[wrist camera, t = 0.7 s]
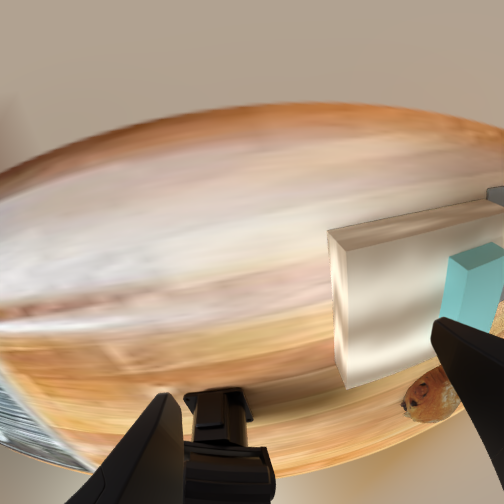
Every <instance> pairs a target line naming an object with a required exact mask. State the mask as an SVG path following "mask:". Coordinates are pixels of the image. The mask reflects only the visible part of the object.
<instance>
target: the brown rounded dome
mask: <svg viewBox="0 0 504 504" xmlns="http://www.w3.org/2000/svg"><path fill="white" fill-rule="evenodd" d="M460 402H461V400H460V398H459V397H458V395H457V393H456V391H455V390H454V388H453V386H452V385H451V383H450V381H449V379H448V378H447V376H446V374H445V372H444V370H443V367H442V365H440V366H439V367H436V368H434V369H433V370H431V371H429V372H427V373H426V374H424V375H423V376H422V377H420V378H419V379H418V380H417V381H416V382H415V383H414V384H413V385H412V386H411V387H410V388H409V389H408V391H407V393H406V395H405V396H404V400H403V403H401V406H402V407H404V410H405V411H406V412H405V413H404V414H403V416H406V417H409V418H411V419H413V421H417V422H421V423H436V422H439V421H442V420H444V419H446V418H448V417H449V416H450V415H451V414H452V413H453V412H454V411H455V410H456V408H457V407H458V405H459V404H460Z"/></svg>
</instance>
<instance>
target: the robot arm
mask: <svg viewBox="0 0 504 504" xmlns="http://www.w3.org/2000/svg"><path fill="white" fill-rule="evenodd" d="M430 341H431V345H432V347H433V349H434V351H435V353H436V355H437V357H438V359H439V361H440V363H441V365H442V367H443V370H444V372H445V374H446V376H447V378H448V379H449V381H450V383H451V385H452V386H453V388H454V390H455V391H456V393H457V395H458V397H459V398H460V400H461V402H462V404H463V405H464V407H465V409H466V411H467V412H468V414H469V416H470V418H471V420H472V422H473V424H474V426H475V428H476V430H477V432H478V434H479V436H480V438H481V439H482V442H483V444H484V445H485V448H486V450H487V452H488V454H489V457H490V459H492V460H491V461H492V464H493V466H494V468H495V471H496V473H497V475H498V478H499V480H500V483H501V485H502V488H503V490H504V339H502V338H500V337H497V336H495V335H492V334H489V333H487V332H484V331H481V330H479V329H476V328H473V327H471V326H468V325H466V324H463V323H460V322H458V321H455V320H452V319H450V318H447V317H441V318H438V319H436V320H435V321H434V322H433V326H432V331H431V336H430ZM183 400H184V402H185V403H186V405H187V406H188V408H189V410H190V411H191V413H192V414H193V426H192V438H191V442H190V441H183V429H182V412H181V408H180V406H179V405H178V403H177V402H176V400H175V399H174V398H173V396H172V395H171V394H170V393H168V392H167V393H159V394H157V395H156V396H155V398H154V399H153V400H152V401H151V403H150V404H149V405H148V406H147V408H146V409H145V410H144V411H143V413H142V414H141V415H140V417H139V418H138V419H137V420H136V422H135V423H134V424H133V425H132V427H131V428H130V429H129V430H128V432H127V433H126V434H125V435H124V437H123V438H122V439H121V440H120V442H119V443H118V444H117V445H116V447H115V448H114V449H113V450H112V452H111V453H110V454H109V455H108V457H107V458H106V459H105V460H104V462H103V463H102V464H101V466H99V468H98V469H97V470H96V471H95V473H94V474H93V475H92V476H91V477H90V478H89V480H88V481H87V482H86V483H85V484H84V485H83V486H82V487H81V488H80V489H79V490H78V491H77V492H76V493H75V494H74V495H73V496H72V497H71V498H70V499H69V500H68V501H67V502H66V503H64V504H271V502H270V501H271V500H272V499H273V498H274V495H275V490H276V479H275V474H274V471H273V467H272V464H271V461H270V458H269V454H268V451H267V448H266V447H248V438H247V424H246V423H247V422H252V421H253V415H252V412H251V410H250V407H249V405H248V402H247V400H246V397H245V395H244V392H243V390H242V389H241V388H235V389H228V390H221V391H213V392H204V393H195V394H186V395H184V397H183Z"/></svg>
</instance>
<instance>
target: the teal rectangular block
mask: <svg viewBox="0 0 504 504" xmlns="http://www.w3.org/2000/svg"><path fill="white" fill-rule="evenodd" d="M503 285H504V249H503V248H502V247H500V246H498V245H497V244H495V243H493V242H490V243H487V244H485V245H482V246H479V247H476V248H473V249H470V250H467V251H464V252H461V253H458V254H455V255H452V256H449V258H448V266H447V274H446V281H445V287H444V293H443V298H442V304H441V309H440V314H439V318H441V317H447V318H450V319H452V320H455V321H458V322H460V323H463V324H466V325H468V326H471V327H473V328H476V329H479V330H481V331H484V332H487V333H489V331H490V328H491V325H492V323H493V320H494V316H495V313H496V310H497V307H498V304H499V300H500V297H501V293H502V289H503Z"/></svg>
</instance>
